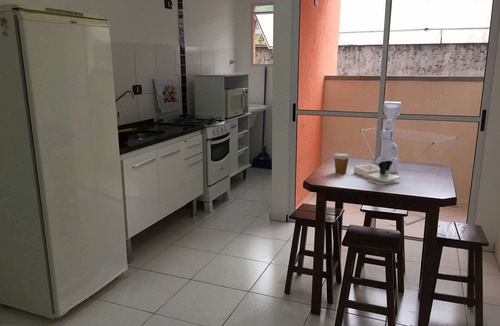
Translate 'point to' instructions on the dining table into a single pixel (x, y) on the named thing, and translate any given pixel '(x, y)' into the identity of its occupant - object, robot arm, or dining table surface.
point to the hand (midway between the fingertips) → (384, 173)
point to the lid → (383, 176)
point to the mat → (382, 182)
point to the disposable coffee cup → (341, 162)
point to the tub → (366, 170)
